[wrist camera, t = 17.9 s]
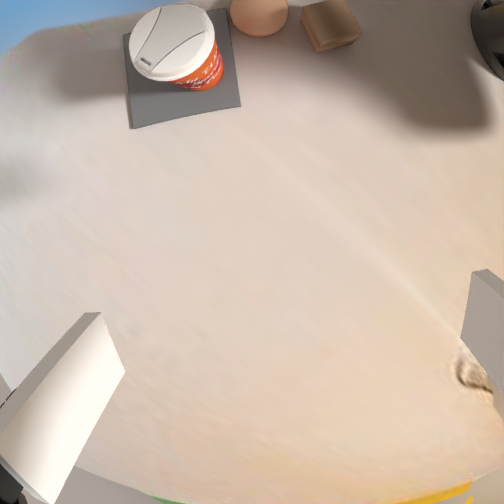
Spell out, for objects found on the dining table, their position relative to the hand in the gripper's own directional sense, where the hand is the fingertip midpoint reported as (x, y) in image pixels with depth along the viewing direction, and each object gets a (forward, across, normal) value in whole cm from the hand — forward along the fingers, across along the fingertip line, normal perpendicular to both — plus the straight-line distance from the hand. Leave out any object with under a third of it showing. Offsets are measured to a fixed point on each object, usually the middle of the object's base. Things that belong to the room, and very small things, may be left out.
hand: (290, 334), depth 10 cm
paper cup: (+30, -7, +16) cm, 35 cm away
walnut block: (+31, +9, +20) cm, 38 cm away
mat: (+31, -10, +18) cm, 37 cm away
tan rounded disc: (+31, +1, +24) cm, 39 cm away
